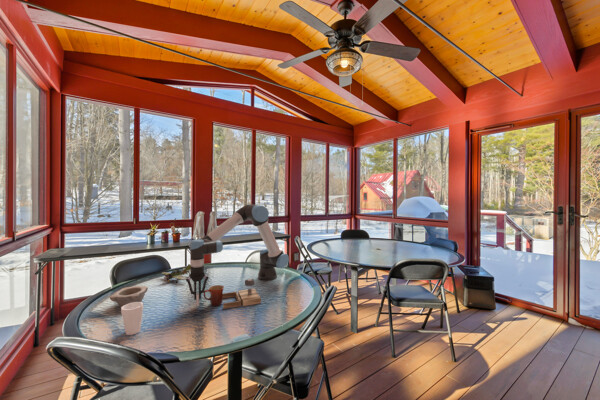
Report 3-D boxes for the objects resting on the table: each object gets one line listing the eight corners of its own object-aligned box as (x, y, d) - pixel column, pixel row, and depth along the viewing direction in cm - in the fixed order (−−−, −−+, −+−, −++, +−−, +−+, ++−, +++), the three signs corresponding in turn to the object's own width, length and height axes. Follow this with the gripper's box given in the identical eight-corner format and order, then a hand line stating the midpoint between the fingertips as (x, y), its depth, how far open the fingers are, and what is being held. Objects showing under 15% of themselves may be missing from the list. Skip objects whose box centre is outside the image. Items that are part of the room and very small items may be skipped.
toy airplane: (205, 278, 216) (204, 266, 216) (176, 287, 195) (175, 274, 195) (182, 272, 233) (181, 260, 232) (153, 280, 212) (152, 268, 211)
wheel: (244, 283, 174) (244, 278, 174) (253, 282, 177) (253, 277, 176) (245, 286, 169) (245, 281, 169) (255, 285, 171) (255, 280, 171)
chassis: (220, 298, 175) (220, 288, 174) (254, 292, 183) (254, 283, 183) (223, 309, 158) (223, 298, 158) (260, 302, 166) (260, 292, 166)
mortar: (107, 312, 156) (106, 296, 156) (124, 300, 173) (124, 286, 173) (136, 311, 157) (136, 295, 157) (151, 299, 174) (150, 285, 174)
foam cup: (134, 325, 140) (133, 301, 139) (148, 328, 137) (147, 303, 137) (117, 335, 131) (116, 308, 130) (131, 337, 128) (131, 311, 128)
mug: (222, 300, 171) (222, 284, 171) (225, 305, 164) (225, 288, 163) (202, 303, 166) (202, 287, 165) (204, 309, 158) (204, 291, 158)
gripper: (185, 268, 155) (185, 309, 155) (209, 266, 159) (209, 305, 160) (185, 265, 162) (186, 304, 162) (208, 263, 166) (208, 300, 167)
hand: (197, 304), depth 161 cm, fingers closed
